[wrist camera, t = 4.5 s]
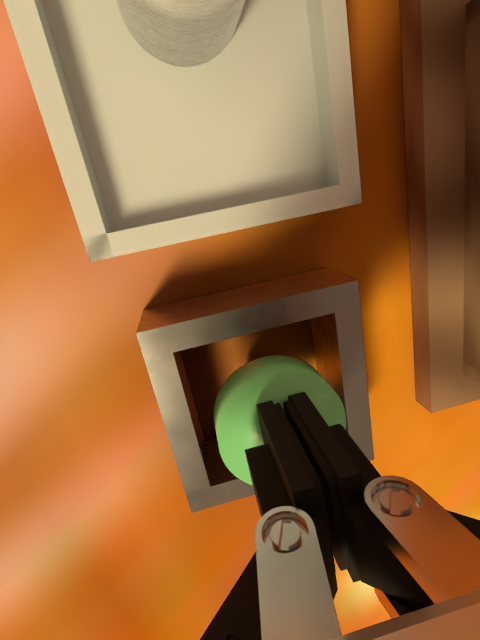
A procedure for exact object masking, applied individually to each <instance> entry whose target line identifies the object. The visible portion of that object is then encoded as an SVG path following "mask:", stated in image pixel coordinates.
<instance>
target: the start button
mask: <svg viewBox="0 0 480 640" xmlns="http://www.w3.org/2000/svg"><path fill="white" fill-rule="evenodd" d="M301 392H305V393H306V394H307V396H308V397H309V399H310V400H311V401H312V403H313V404H314V406H315V407H316V409H317V410H318V411H319V413H320V414H321V416H322V417H323V419H324V420H325V421H326V423H327V424H328V426H332V425H335V424H341V425H342V426H343V427H344V428H345V430H346V414H345V409H344V407H343V404H342V402H341V400H340V398H339V396H338V395H337V394H336V392H335V391H334V390H333V389H332V388H331V386H330V385H329V384H328V383H327V382H326V381H325V379H324V378H323V377H322V376H321V375H320V374H319V373H318V371H317V370H316V369H314V368H313V367H312V366H311V365H309V364H308V363H307V362H305V361H303V360H301V359H298V358H295V357H291V356H285V355H272V356H266V357H261V358H258V359H255V360H253V361H250V362H248V363H246V364H245V365H243V366H241V367H240V368H239V369H237V370H236V371H235V372H234V373H233V374H232V375H231V376H230V377H229V378H228V379H227V380H226V381H225V383H224V384H223V385H222V387H221V389H220V390H219V393H218V395H217V397H216V401H215V404H214V424H215V429H216V435H217V440H218V446H219V452H220V455H221V457H222V460H223V462H224V463H225V465H226V467H227V468H228V469H229V471H230V472H231V473H232V474H234V475H235V476H236V477H237V478H239V479H240V480H242V481H244V482H245V483H247V484H250V485H253V484H252V480H251V476H250V471H249V467H248V463H247V459H246V454H245V449H249V448H252V447H256V446H260V445H263V444H264V441H263V436H262V432H261V427H260V422H259V417H258V412H257V408H256V404H259V403H263V402H267V401H270V400H272V401H273V403H274V404H276V403H280V405H281V407H282V409H283V411H284V413H285V410H284V401H288V396H289V395H293V394H297V393H301Z"/></svg>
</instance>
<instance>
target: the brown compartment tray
mask: <svg viewBox="0 0 480 640" xmlns="http://www.w3.org/2000/svg"><path fill="white" fill-rule="evenodd" d="M399 2H400V26H401V50H402V75H403V99H404V123H405V148H406V172H407V196H408V221H409V245H410V269H411V294H412V318H413V342H414V366H415V391H416V401H417V402H418V403H420V404H421V405H422V406H423V407H425V408H426V409H427V410H428V411H430V412H431V413H433V412H436V411H440V410H443V409H447V408H451V407H454V406H458V405H461V404H465V403H468V402H472V401H475V400H479V399H480V0H399Z"/></svg>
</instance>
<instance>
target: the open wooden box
mask: <svg viewBox="0 0 480 640" xmlns="http://www.w3.org/2000/svg"><path fill="white" fill-rule="evenodd" d="M307 319H310V321H311V328H312V336H313V343H314V350H315V357H316V364H317V371H318V373H319V374H320V375H321V376H322V377H323V378H324V379H325V381H326V382H327V383H328V384H329V385H330V386H331V388H332V389H333V390H334V391H335V392H336V394H337V395H338V396H339V398H340V400H341V402H342V404H343V407H344V409H345V414H346V431H347V432H348V434H349V435H350V436H351V438H352V439H353V440H354V442H355V443H356V444H357V445H358V447H359V448H360V449H361V451H362V452H363V453H364V455H365V456H366V457H367V459H368V460H369V461H370V460H374V452H373V441H372V430H371V419H370V408H369V397H368V385H367V374H366V363H365V352H364V341H363V330H362V319H361V308H360V297H359V285H358V280H356V279H354V278H351V277H349V276H346V275H343V274H341V273H338V272H336V271H333V270H331V269H328V268H326V267H325V268H321V269H316V270H312V271H308V272H304V273H299V274H295V275H291V276H286V277H282V278H278V279H273V280H269V281H265V282H261V283H256V284H252V285H248V286H243V287H239V288H235V289H230V290H226V291H222V292H217V293H213V294H209V295H205V296H200V297H196V298H192V299H187V300H183V301H179V302H174V303H170V304H166V305H162V306H157V307H153V308H149V309H144V310H143V313H142V316H141V320H140V323H139V326H138V329H137V332H136V334H137V338H138V341H139V344H140V347H141V350H142V354H143V357H144V360H145V363H146V367H147V370H148V373H149V376H150V380H151V383H152V386H153V389H154V392H155V396H156V399H157V402H158V405H159V409H160V412H161V415H162V418H163V422H164V425H165V428H166V431H167V434H168V438H169V441H170V444H171V447H172V451H173V454H174V457H175V460H176V464H177V467H178V470H179V473H180V476H181V480H182V483H183V486H184V489H185V493H186V496H187V499H188V502H189V506H190V509H191V512H192V513H193V512H196V511H199V510H203V509H206V508H210V507H213V506H216V505H220V504H223V503H227V502H230V501H234V500H237V499H240V498H244V497H247V496H251V495H254V494H255V491H254V488H253V485H250V484H247V483H245V482H244V481H242V480H240V479H239V478H237V477H236V476H235V475H234V474H232V473H231V472H230V471H229V469H228V468H227V467H226V465H225V463H224V462H223V460H222V457H221V455H220V452H219V446H218V440H217V438H215V439H212V440H208V441H205V440H204V437H203V433H202V429H201V426H200V422H199V418H198V415H197V411H196V407H195V404H194V400H193V396H192V393H191V389H190V385H189V382H188V378H187V374H186V371H185V367H184V363H183V359H182V356H181V352H180V351H181V350H185V349H189V348H193V347H197V346H202V345H206V344H210V343H214V342H218V341H222V340H226V339H230V338H234V337H238V336H242V335H246V334H250V333H254V332H258V331H262V330H267V329H271V328H275V327H279V326H283V325H287V324H291V323H295V322H299V321H303V320H307Z"/></svg>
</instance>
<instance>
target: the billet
mask: <svg viewBox="0 0 480 640" xmlns="http://www.w3.org/2000/svg"><path fill="white" fill-rule="evenodd" d="M116 1H117V4H118V8H119V11H120V14H121V16H122V19H123V21H124V23H125V25H126V27H127V29H128V31H129V32H130V34H131V35H132V37H133V38H134V39H135V41H136V42H137V43H138V44H139V45H140V46H141V47H142V48H143V49H144V50H145V51H146V52H147V53H149V54H150V55H151V56H153V57H154V58H156V59H158V60H160V61H162V62H164V63H167V64H169V65H173V66H178V67H193V66H198V65H202V64H204V63H206V62H209V61H210V60H212V59H213V58H215V57H216V56H217V55H219V54H220V53H221V52H222V51H223V50H224V49H225V47H226V46H227V45H228V43H229V42H230V40H231V38H232V36H233V34H234V32H235V30H236V27H237V24H238V21H239V18H240V15H241V12H242V9H243V6H244V3H245V0H116Z"/></svg>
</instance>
